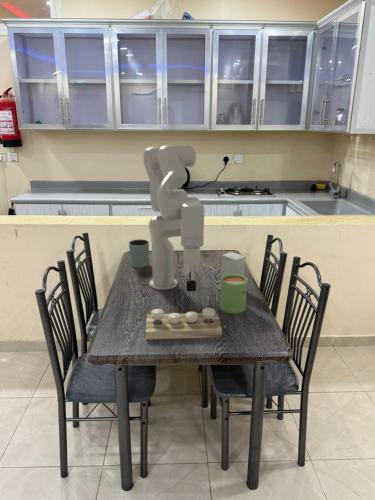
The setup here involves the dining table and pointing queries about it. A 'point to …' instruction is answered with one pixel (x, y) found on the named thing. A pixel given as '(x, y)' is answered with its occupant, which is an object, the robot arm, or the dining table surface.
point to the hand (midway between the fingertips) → (191, 290)
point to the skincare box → (232, 264)
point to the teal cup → (139, 253)
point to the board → (183, 328)
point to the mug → (233, 293)
